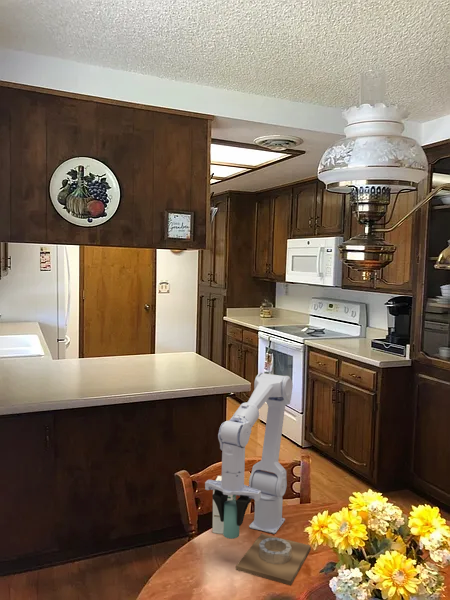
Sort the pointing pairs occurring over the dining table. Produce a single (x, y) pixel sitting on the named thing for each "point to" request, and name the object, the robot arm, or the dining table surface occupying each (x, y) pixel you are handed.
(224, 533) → the peg
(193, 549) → the dining table surface
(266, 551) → the socket ring
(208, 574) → the dining table surface
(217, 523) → the syrup box
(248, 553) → the walnut board
